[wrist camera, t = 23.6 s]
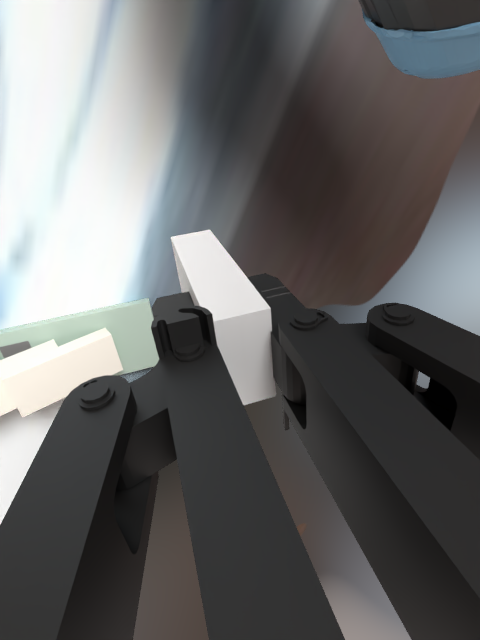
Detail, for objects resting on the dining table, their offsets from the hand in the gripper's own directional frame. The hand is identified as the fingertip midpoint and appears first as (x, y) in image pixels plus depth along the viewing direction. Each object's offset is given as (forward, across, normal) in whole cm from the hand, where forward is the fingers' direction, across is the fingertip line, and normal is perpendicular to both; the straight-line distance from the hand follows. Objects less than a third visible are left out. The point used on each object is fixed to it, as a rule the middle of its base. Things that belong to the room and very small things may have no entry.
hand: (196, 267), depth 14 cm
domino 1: (+25, +8, +18) cm, 31 cm away
